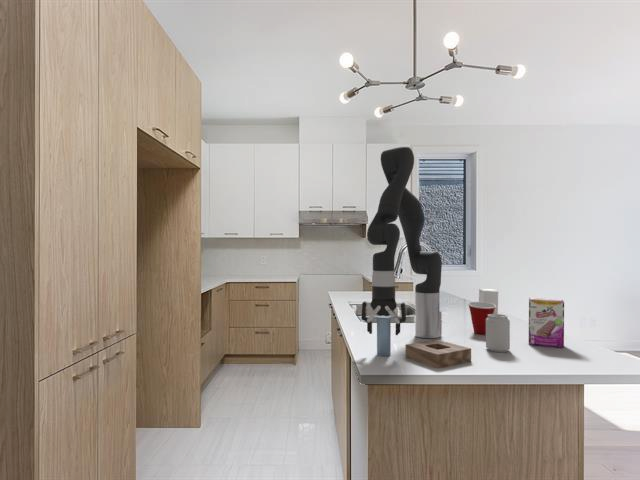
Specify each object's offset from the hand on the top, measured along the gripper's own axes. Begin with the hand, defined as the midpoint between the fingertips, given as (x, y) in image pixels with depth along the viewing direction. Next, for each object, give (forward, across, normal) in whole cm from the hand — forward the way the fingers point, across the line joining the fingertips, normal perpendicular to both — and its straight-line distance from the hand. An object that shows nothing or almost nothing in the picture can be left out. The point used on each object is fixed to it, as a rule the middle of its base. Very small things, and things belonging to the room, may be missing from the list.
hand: (383, 334), depth 138 cm
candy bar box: (+7, -54, -28) cm, 61 cm away
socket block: (+7, -17, +1) cm, 18 cm away
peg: (+7, 0, 0) cm, 7 cm away
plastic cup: (+7, -35, -43) cm, 56 cm away
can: (+7, -37, -16) cm, 41 cm away
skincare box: (+7, -40, -65) cm, 77 cm away
